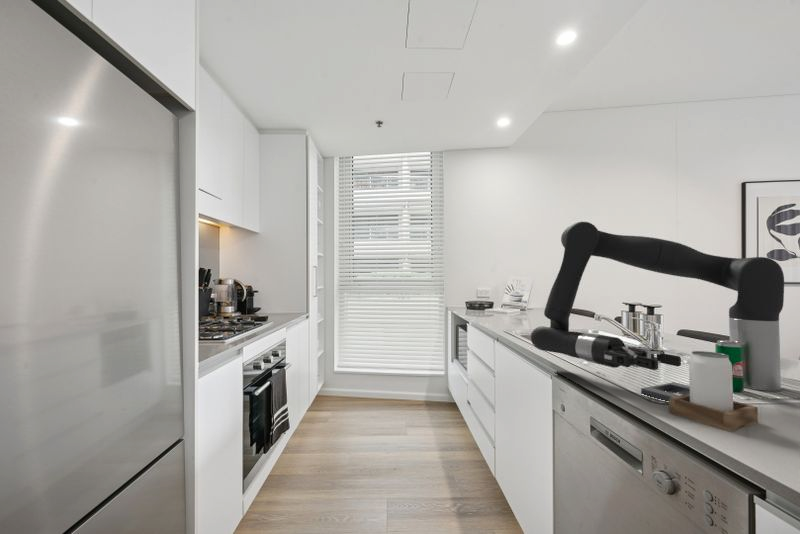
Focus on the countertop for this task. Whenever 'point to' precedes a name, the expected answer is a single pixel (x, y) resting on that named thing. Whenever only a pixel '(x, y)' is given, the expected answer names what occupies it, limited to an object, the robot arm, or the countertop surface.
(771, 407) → the countertop surface
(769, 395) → the countertop surface
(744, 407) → the open wooden box
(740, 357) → the soda can
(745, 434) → the countertop surface
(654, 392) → the gray rectangular tray
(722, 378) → the can
